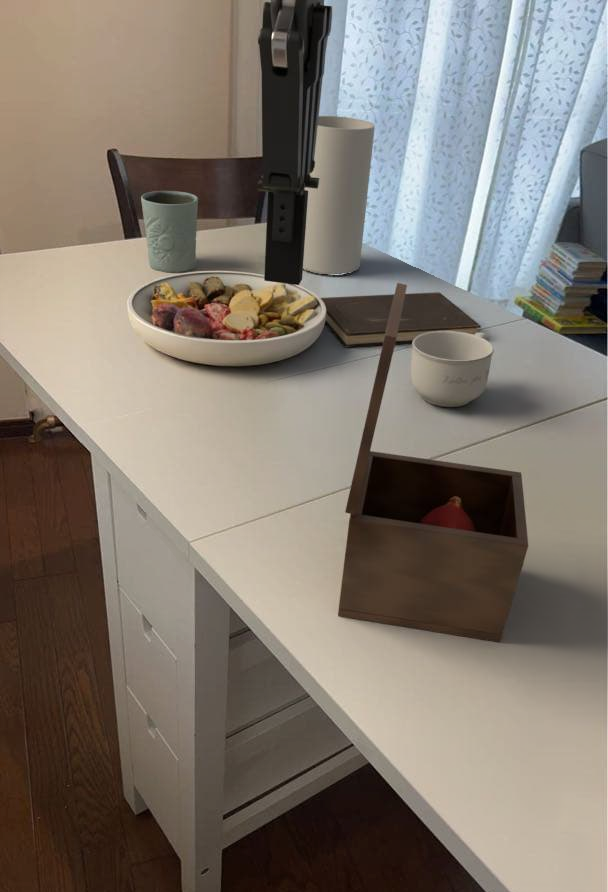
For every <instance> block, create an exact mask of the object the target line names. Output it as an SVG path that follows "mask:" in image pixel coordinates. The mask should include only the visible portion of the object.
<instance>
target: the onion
mask: <svg viewBox="0 0 608 892" xmlns="http://www.w3.org/2000/svg"><path fill="white" fill-rule="evenodd" d="M419 524H426V525H433V526H440V527H446V528H453V529H460V530H466V531H473V532H476V530H475V527H474V524H473V522H472V521H471V519H470V517H469V516H468V515H467V513H466V512H465V511H464V510H463V508H462V505H461V499H460V498H459V497H455V496H454V497H452V498H451V499H450V501H449V502H448V503H447V504H446V505H443V506H440V507H437V508H435V509H433V510H432V511H431V512H429V513H428V514H427V515H426V516H424V517H423V519H422V520H421V521H420V523H419Z"/></svg>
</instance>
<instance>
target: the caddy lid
mask: <svg viewBox="0 0 608 892" xmlns="http://www.w3.org/2000/svg"><path fill="white" fill-rule="evenodd" d="M407 288H408V284H405V283H401V282H396V286H395V290H394V293H393V294H394V298H393V303H392V307H391V311H390V316H389V320H388V324H387V328H386V333H385V337H384V341H383V345H381V346H382V347H381V350H380V354H379V359H378V364H377V368H376V369H377V370H376V373H375V377H374V383H373V387H372V390H371V395H370V399H369V403H368V407H367V408H368V409H367V413H366V417H365V422H364V427H363V430H362V436H361V440H360V444H359V448H358V453H357V457H356V462H355V466H354V469H353V470H354V471H353V476H352V480H351V483H350V488H349V493H348V498H347V502H346V505H345V511H344V512H345V514H349V515H350V514H353V515H355V513H356V508H357V504H358V500H359V496H360V491H361V487H362V483H363V479H364V474H365V470H366V466H367V462H368V457H369V453H370V451H371V448H372V444H373V440H374V435H375V432H376V427H377V422H378V419H379V415H380V410H381V406H382V401H383V397H384V393H385V390H386V389H385V388H386V384H387V380H388V377H389V372H390V368H391V364H392V359H393V356H394V351H395V346H396V344H395V342H396V338H397V333H398V328H399V323H400V318H401V313H402V308H403V303H404V298H405V294H407V293H406V292H407Z"/></svg>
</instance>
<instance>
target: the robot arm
mask: <svg viewBox="0 0 608 892" xmlns="http://www.w3.org/2000/svg"><path fill="white" fill-rule="evenodd" d="M332 21H333V6H332V5H325V0H270V2H269V1H265V2H264V3H263V7H262V23H261V24H262V27H261V28H260V30H259V34H258V36H257V45H258V47H259V60H260V71H261V154H262V156H261V157H262V158H261V159H262V160H261V161H262V164H261V167H262V168H261V169H262V174H261V179H259V181H258V182H257V183H256V190H257V191H259V192H267V203H266V204H267V207H266V227H265V229H266V230H265V253H264V254H265V255H264V257H265V258H264V274H263V275H264V281H270V282H278V283H286V284H293V285H301V284H300V283H301V282H302V280H303V273H304V270H303V259H304V245H305V231H306V217H307V202H308V190H305V187H307V188H315V189H318V186H319V178H313V177H311V175H310V173H312V171H313V170H314V168H315V161H314V156H315V147H316V137H317V127H318V118H319V116H320V107H321V98H322V88H323V78H324V73H325V66H326V65H325V64H326V53H327V47H328V39H329V37H330V34H331V31H332Z"/></svg>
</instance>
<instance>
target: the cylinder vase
mask: <svg viewBox="0 0 608 892" xmlns="http://www.w3.org/2000/svg"><path fill="white" fill-rule="evenodd" d="M375 128H376V125H375V123H373V122H371V121H368V120H365V119H362V118H361V119H360V118H355V117H349V116H338V115H337V116H335V115H319V118H318V127H317V137H316V147H315V156H314V161H315V168H314V170H313V171H312V173H310V175H311V177H313V178H319V186H318V189H315V188H307V187H305V190H308V202H307V217H306V231H305V245H304V259H303V269H304V270H303V271H306V270H307V271H306V272H308V271H310V272H309V273H311V272H314V273H313V274H315V273H320V274H319V275H321V274H342V273H349V272H353V271H355V270H356V271H357V270H359V268H360V266H361V259H362V251H363V241H364V232H365V231H364V230H365V222H366V221H365V220H366V212H367V203H368V194H369V185H370V184H369V183H370V177H371V175H370V174H371V166H372V155H373V148H374V146H373V145H374V138H375V130H376V129H375ZM356 271H355V272H356ZM353 273H354V272H353Z"/></svg>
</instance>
